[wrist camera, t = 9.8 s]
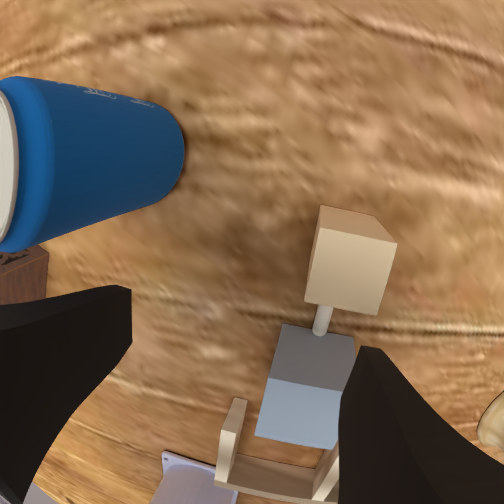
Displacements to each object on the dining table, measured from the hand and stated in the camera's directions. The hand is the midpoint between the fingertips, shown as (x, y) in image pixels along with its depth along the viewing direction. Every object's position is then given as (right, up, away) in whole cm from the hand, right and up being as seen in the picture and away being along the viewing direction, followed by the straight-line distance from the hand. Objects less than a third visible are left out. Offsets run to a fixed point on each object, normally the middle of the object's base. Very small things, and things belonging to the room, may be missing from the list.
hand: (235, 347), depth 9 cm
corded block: (+5, -1, +10) cm, 11 cm away
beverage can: (-6, +9, +9) cm, 14 cm away
